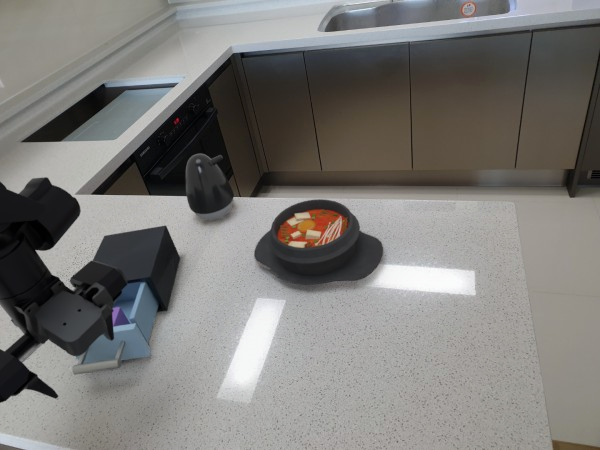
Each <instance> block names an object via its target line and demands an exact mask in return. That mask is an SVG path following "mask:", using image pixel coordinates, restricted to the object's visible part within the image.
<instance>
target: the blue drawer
mask: <svg viewBox="0 0 600 450" xmlns="http://www.w3.org/2000/svg"><path fill="white" fill-rule="evenodd" d="M158 305H159V302H158V300H157V298H156V296H155V294H154V292H153V291H152V289H151V287H150V285H149V283H148V281H142V282H136V283H130V284H127V286H126V287H124V288H123V289H122V294H121V296H120V297H119V298H118V299H117V300H116V301H115V303H114V305H113V308H116V307H121V309H122V311H123V312H124V314H125V316H126V317H127V319H128V321H129V322H130V324H127V325H121V326H114V327H113V330H114V339H113V340H112V341H111V340H108V339H107V338H106V337H105V336H104V335H101V336H99V337H98V338H97V339H96V340H95V341H94V342H93V343H92V344H91V345H90V346H89V348H88V350H87V351H86V352H85V353H83V354H82V355H80V356H74V357H75V358H76V359H77V363H76V364H74V365H73V366H72V374H73V375H82V374H88V373H95V372H96V373H97V372H101V371H108V370H115V369H120V368H121V367H122V364H123V363H122V361H126V360H133V359H141V358H145V357H150V356H151V353H152V349H151V347H150V346H149V342H150V338H151V335H152V331H153V327H154V323H155V320H156V317H157V313H158V312H157V309H158Z"/></svg>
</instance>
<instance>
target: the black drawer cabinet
mask: <svg viewBox="0 0 600 450" xmlns="http://www.w3.org/2000/svg"><path fill="white" fill-rule="evenodd" d="M173 240H174V239H173V238H172V235H171V234H170V231H169V229H168V226H167V225H161V226H154V227H148V228H142V229H136V230H130V231H125V232H117V233H113V234H107V235H103V237H102V240H101V241H100V244H99V246H98V248H97V250H96V253H95V254H94V257H93V259H92V261H98V262H101V263H104V264H107V265H111V266H114V267H117V268H118V269H120V270H121V271H122V272H123V274H124V276H125V277H126V279H127V284H130V283H136V282H142V281H148V283H149V285H150V287H151V289H152V291H153V292H154V294H155V296H156V298H157V300H158V302H159V305H158V309H157V313H161V312H167V311H168V310H169V305H170V301H171V297H172V294H173V289H174V285H175V280H176V278H177V277H176V276H177V272H178V269H179V265H180V261H181V256H180V254H179V251H178V249H177V247H176V245H175V243H174V241H173Z"/></svg>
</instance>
